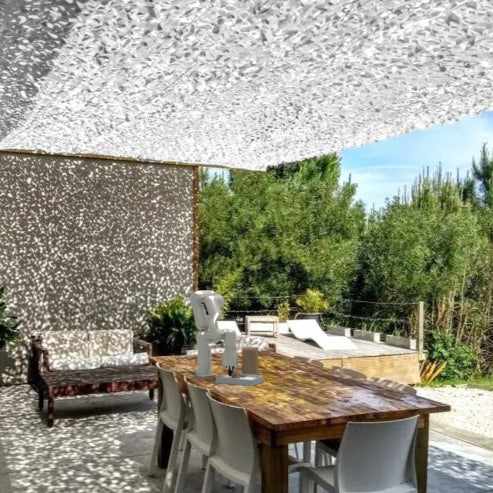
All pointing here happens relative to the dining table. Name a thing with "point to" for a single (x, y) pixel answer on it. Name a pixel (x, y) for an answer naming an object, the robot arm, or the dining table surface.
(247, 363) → the block
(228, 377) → the trap box
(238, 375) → the walnut block
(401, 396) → the dining table surface
